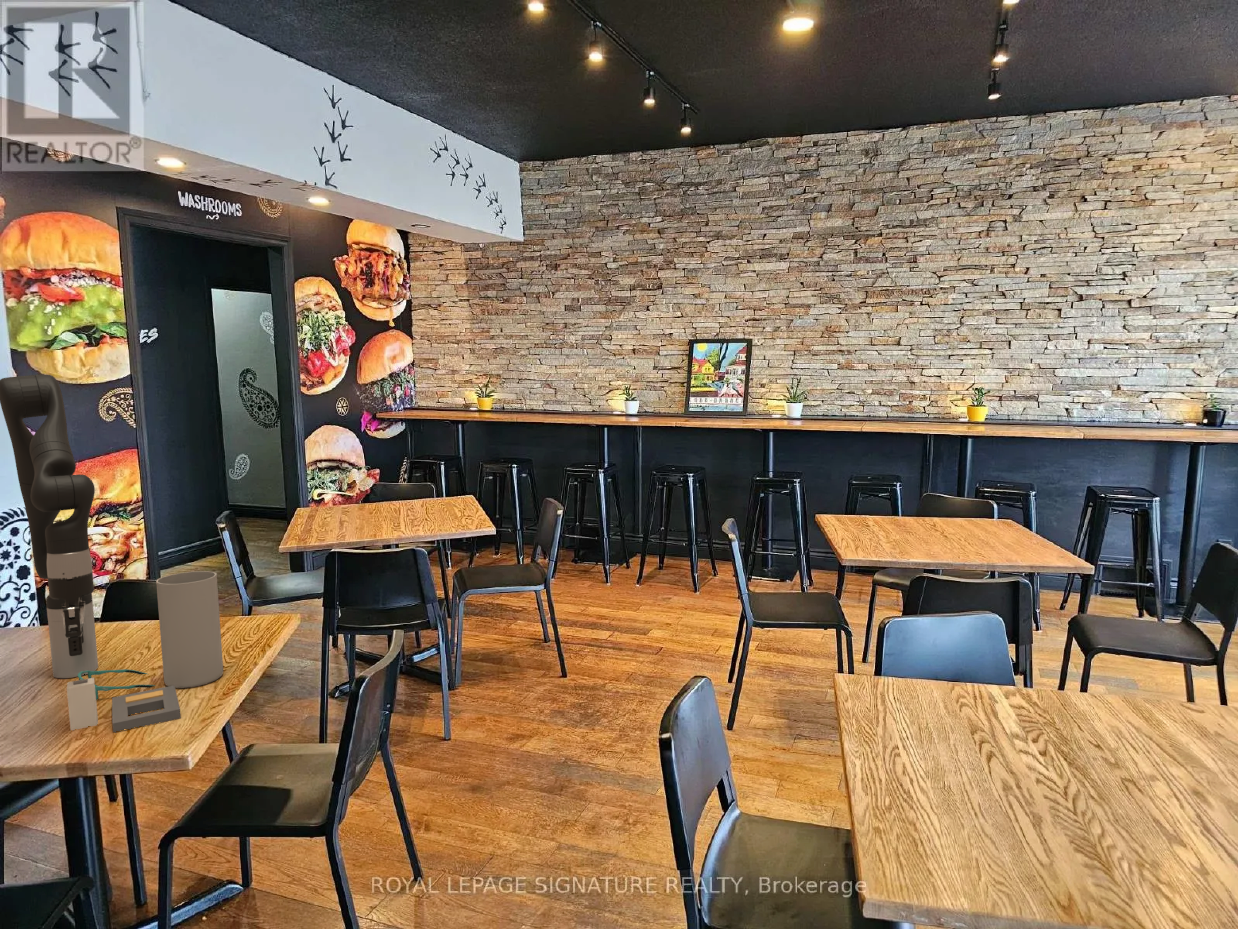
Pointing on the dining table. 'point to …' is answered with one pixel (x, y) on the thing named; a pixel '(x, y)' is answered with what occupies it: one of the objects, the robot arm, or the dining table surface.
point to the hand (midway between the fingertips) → (76, 649)
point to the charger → (82, 703)
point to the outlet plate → (145, 708)
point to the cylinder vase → (190, 628)
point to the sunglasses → (107, 688)
